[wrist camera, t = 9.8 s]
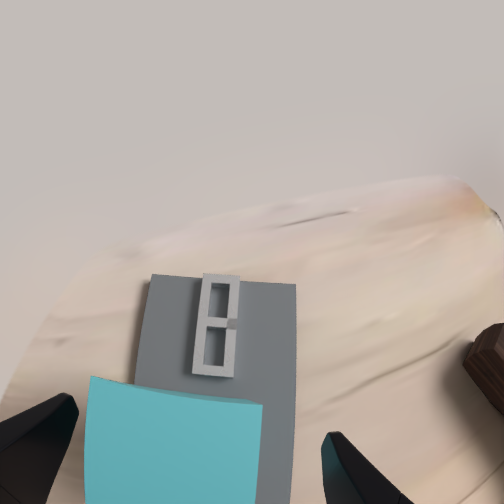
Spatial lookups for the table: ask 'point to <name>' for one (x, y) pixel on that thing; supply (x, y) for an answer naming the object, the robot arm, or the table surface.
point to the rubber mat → (245, 366)
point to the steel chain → (216, 325)
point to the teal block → (169, 446)
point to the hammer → (488, 364)
